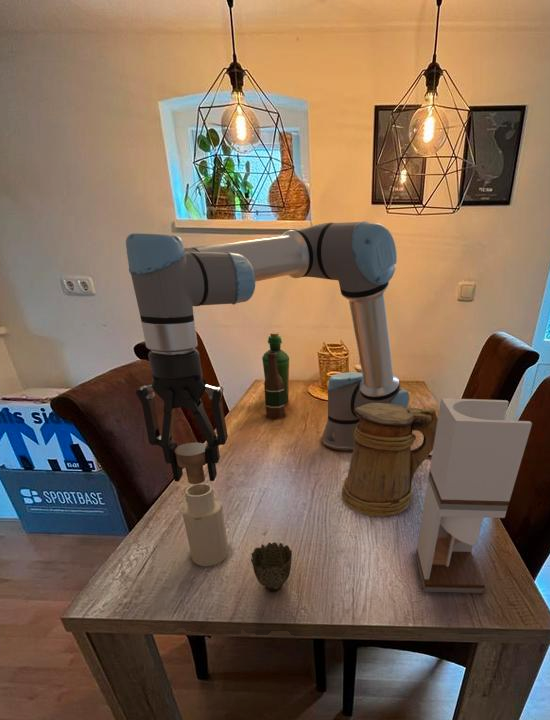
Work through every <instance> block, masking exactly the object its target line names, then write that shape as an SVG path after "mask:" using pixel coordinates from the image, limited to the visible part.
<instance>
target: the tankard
mask: <svg viewBox="0 0 550 720" xmlns="http://www.w3.org/2000/svg"><path fill="white" fill-rule="evenodd" d="M354 413H356V414H357V415H359V416H360V421H359V423H358V424H357V425H356V428H355V432H354V439H355V444H354V449H353V451H352V453H351V459H350V463H349V467H348V472H347V476H346V477H345V479H344V480H343V485H342V488H341V493H340V496H341V499H342V501H343V503H344V504H345V505H346V506H347V507H348V508H350V510H353V511H354V512H356V513H360V514H362V515H365V516H371V517H388V516H394V515H399V514H401V513H402V512H405V511H406V510H407V509H408V508H409V507H410V506H411V503H412V499H413V497H414V492H413V490H414V489H413V485H412V483H413V479H414V476H415V474H416V472H417V470H418V469H419V467H420V466H421V465H422V463H423V462H424V461H425V460H427V458H429V457H428V455H431V454H432V452H433V446H434V440H435V434H436V427H437V421H438V416H437V414H436V413H437V410H436V409H435V408H433V407H429V408H419V407H418V408H416V407H409V406H408V407H405V406H401V405H395V404H387V403H369V404H366V405H363V406H360V407H357V408H356V409H355V410H354ZM413 431H416V432H417V431H418V432H420V433H421V434H422V435H423V438H422V439H423V441H422V443H421V445H420V446H418V447H417V448H413V449H411V448H412V446H413V445H414V442H415V441H416V440H417V436H416V435H415V434H414V433H413Z"/></svg>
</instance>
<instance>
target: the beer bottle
mask: <svg viewBox="0 0 550 720" xmlns="http://www.w3.org/2000/svg"><path fill="white" fill-rule="evenodd" d="M267 356H268V375H267V377H266V378H265V377H264V383H263V385H264V386H263V387H264V401H265V402H264V403H265V413H266V417H267V418H269V419H271V420H272V419H273V420H278V419H279V420H280V419H282V418H284V417H286V404H285V400H284V385H283V381H282V378H281V377H280V375H279V373H278V366H277V353H276V352H268V354H267Z"/></svg>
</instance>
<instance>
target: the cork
mask: <svg viewBox="0 0 550 720" xmlns="http://www.w3.org/2000/svg"><path fill="white" fill-rule="evenodd" d="M206 446H207V444H205V443H202V442H186V443H182V444H180V445H177V448H176V449H175V450H174V452H175V457H176V462H177V465H178V466H179V467H182V469H185V472H186V477H187V482H188V483H189V484H190V485H194V484H199V483H205V481H206V476H205V470H204V466H205V465H207V460H206V454H205V448H206Z"/></svg>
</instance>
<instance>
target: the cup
mask: <svg viewBox="0 0 550 720" xmlns="http://www.w3.org/2000/svg"><path fill="white" fill-rule="evenodd" d="M292 560H293V550H292V549H291V548H290V547H289V545H288V544H285V545H283V543H282V542H280V543H279V544H278V543H277V542H275V541H273V542H272V543H271V542H268V543H267V544H266V545H264V544H261V547H255V548H254V550H253V552H251V564H252V568H253V572H254V575H255V579H256V580H257V582H258V583H259V584H260V585H262V587H264V588H265V590H266V591H268V592H271V593H274V592H278V591H280V590H281V589H282V588H283V587H284V584H285V583H286V582H287V581H288V580H289V578H290V575H291V569H292Z"/></svg>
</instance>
